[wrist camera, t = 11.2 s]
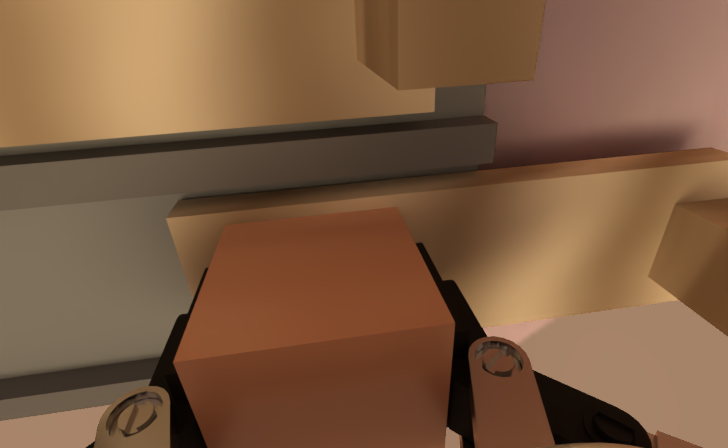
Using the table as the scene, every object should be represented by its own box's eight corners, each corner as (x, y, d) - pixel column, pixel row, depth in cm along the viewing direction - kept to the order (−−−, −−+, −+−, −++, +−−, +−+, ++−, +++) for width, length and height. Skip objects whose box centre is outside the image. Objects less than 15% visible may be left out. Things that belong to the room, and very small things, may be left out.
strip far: (711, 147, 13) (958, 225, 8) (658, 281, 16) (820, 400, 11) (178, 200, 12) (81, 340, 7) (221, 340, 14) (177, 515, 9)
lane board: (499, -235, 9) (546, -297, 7) (453, 317, 17) (470, 351, 15) (-757, -250, 7) (-1133, -344, 5) (-122, 396, 15) (-179, 447, 13)
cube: (396, 206, 11) (455, 322, 7) (397, 331, 14) (442, 475, 9) (224, 225, 11) (173, 362, 7) (256, 351, 13) (234, 513, 9)
